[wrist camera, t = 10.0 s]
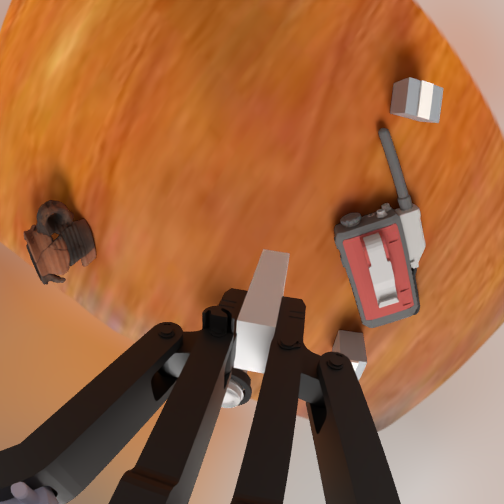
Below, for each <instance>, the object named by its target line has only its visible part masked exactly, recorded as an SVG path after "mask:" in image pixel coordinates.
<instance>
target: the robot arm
mask: <svg viewBox="0 0 504 504" xmlns="http://www.w3.org/2000/svg"><path fill="white" fill-rule="evenodd" d="M289 255H290V253H284V252H277V251H271V250H265V249H263V252H262V254H261V257H260V260H259V262H258V265H257V268H256V271H255V273H254V276H253V279H252V281H251V284H250V287H249V289H248V291H244V290H239V289H233V288H231V289H229V290H228V291H227V292H225V293H224V295H223V297H222V300H221V301H220V304H219V306H212V307H209V308H207V309H205V310H204V311H203V312H202V322H203V328H202V330H199V331H194V332H183V330H182V328H181V327H180V326H179V325H177V324H175V323H172V322H163V323H159V324H157V325H156V326H154V327H153V328H152V329H151V330H149V331H148V332H147V333H146V334H145V335H144V336H143V337H141V338H140V339H139V340H138V341H137V342H136V343H135V344H133V345H132V346H131V347H130V348H129V349H128V350H127V351H125V352H124V353H123V354H122V355H121V356H119V357H118V358H117V359H116V360H115V361H114V362H113V363H111V364H110V365H109V366H108V367H107V368H106V369H105V370H103V371H102V372H101V373H100V374H99V375H98V376H96V377H95V378H94V379H93V380H92V381H91V382H90V383H89V384H87V385H86V386H85V387H84V388H83V389H82V390H81V391H79V392H78V393H77V394H76V395H75V396H74V397H73V398H71V399H70V400H69V401H68V402H67V403H66V404H65V405H64V406H62V407H61V408H60V409H59V410H58V411H57V412H55V414H53V415H52V416H51V417H50V418H49V419H47V420H46V421H45V422H44V423H43V424H42V425H41V426H40V427H39V428H37V429H36V430H35V431H34V432H33V433H32V434H30V435H29V436H28V437H27V438H26V439H25V440H24V441H23V442H21V443H20V444H18V445H15V446H13V447H10V448H7V449H5V450H2V451H0V504H66V503H68V502H69V501H71V500H72V499H74V498H75V497H76V496H77V495H78V494H80V493H81V492H82V491H83V490H84V489H85V488H86V487H87V486H88V485H89V484H90V483H91V482H92V480H94V478H95V477H96V476H97V475H98V474H99V473H100V472H101V471H102V470H103V469H104V468H105V467H106V466H107V464H109V462H110V461H111V460H112V459H113V458H114V457H115V456H116V455H117V454H118V453H119V452H120V451H121V450H122V449H123V447H124V446H125V445H126V444H127V443H128V442H129V441H130V440H131V439H132V438H133V437H134V435H135V434H136V433H137V432H138V431H139V430H140V429H141V427H143V425H144V424H145V423H146V422H147V421H148V420H149V419H150V418H151V417H152V416H153V414H154V413H155V412H156V411H157V410H158V409H159V408H160V407H161V405H162V404H163V403H164V402H165V401H166V400H167V401H166V403H165V405H164V408H163V410H162V412H161V414H160V416H159V418H158V420H157V422H156V424H155V426H154V428H153V430H152V432H151V434H150V436H149V438H148V440H147V443H146V445H145V447H144V449H143V451H142V453H141V455H140V457H139V459H138V461H137V463H136V465H135V467H134V468H133V469H131V470H128V471H126V472H125V473H124V475H123V476H122V478H121V480H120V481H119V484H118V486H117V488H116V490H115V492H114V494H113V496H112V498H111V500H110V502H109V504H188V502H189V499H190V496H191V494H192V491H193V488H194V485H195V482H196V479H197V476H198V473H199V470H200V468H201V465H202V462H203V459H204V456H205V453H206V450H207V447H208V444H209V441H210V438H211V436H212V433H213V430H214V427H215V423H216V420H217V418H218V415H219V412H220V408H221V406H222V403H223V400H224V397H225V394H226V391H227V388H228V384H229V381H230V378H231V370H232V366H233V363H234V368H238V369H243V370H248V371H254V372H259V373H264V376H263V380H262V385H261V389H260V393H259V397H258V401H257V406H256V410H255V414H254V418H253V422H252V426H251V430H250V434H249V438H248V442H247V446H246V450H245V454H244V458H243V462H242V465H241V469H240V473H239V477H238V481H237V484H236V488H235V492H234V495H233V498H232V501H231V503H230V504H283V500H284V493H285V487H286V481H287V476H288V469H289V463H290V457H291V450H292V442H293V435H294V428H295V421H296V413H297V405H298V398H299V399H302V400H304V401H306V407H307V411H308V416H309V421H310V426H311V431H312V435H313V440H314V445H315V450H316V455H317V460H318V465H319V470H320V474H321V480H322V485H323V490H324V496H325V501H326V504H401V503H400V500H399V497H398V493H397V490H396V487H395V484H394V481H393V478H392V474H391V471H390V468H389V465H388V463H387V460H386V456H385V453H384V451H383V447H382V445H381V442H380V439H379V436H378V433H377V430H376V427H375V424H374V422H373V419H372V416H371V413H370V410H369V408H368V405H367V402H366V400H365V397H364V394H363V391H362V389H361V386H360V383H359V381H358V378H357V376H356V373H355V370H354V368H353V365H352V363H351V361H350V359H349V358H348V357H347V356H345V355H344V354H341V353H339V352H327V353H325V354H323V355H322V356H320V355H317V354H315V353H313V352H311V351H310V350H308V349H307V348H306V347H305V345H304V343H303V333H304V322H305V310H306V306H305V304H304V302H303V300H302V299H296V298H290V297H284V296H283V293H284V287H285V281H286V275H287V268H288V262H289Z"/></svg>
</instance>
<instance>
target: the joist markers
mask: <svg viewBox="0 0 504 504" xmlns="http://www.w3.org/2000/svg"><path fill="white" fill-rule="evenodd" d="M442 95H443V88H441V87H439V86H436V85H434V84H432V83H429V82H426V81H423V80H422V81H420V80H417V79H414V78H411V77H408V78H406V79H403V80H401V81H398V82H395V83H394V85H393V94H392V102H391V109H390V114H394V115H398V116H402V117H406V118H409V119H413V120H416V121H421V122H432V123H439V119H440V111H441V104H442ZM332 351H333V352H339V353H341V354H344V355H345V356H347V357H348V358H349V359H350V361H351V363H352V365H353V368H354V370H355V373H356V376H357V378H358V381H359V379H360V377H361V375H362V373H363V370H364V368H365V366H366V364H367V357H366V350H365V343H364V337H363V333H358V332H351V331H344V330H339V331H338V334H337V337H336V340H335V343H334V345H333V348H332Z"/></svg>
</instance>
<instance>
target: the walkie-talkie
mask: <svg viewBox="0 0 504 504" xmlns="http://www.w3.org/2000/svg"><path fill="white" fill-rule="evenodd" d="M378 134H379V137H380V140H381V143H382V146H383V149H384V152H385V155H386V158H387V161H388V164H389V167H390V170H391V174H392V177H393V180H394V184H395V187H396V191H397V194H398V203H399V206H400V208H398V209H395V210H394V209H392V208H391V206H390V204H389V203H385V204H383V205H382V209H379V210H377V212H374V213H371V214H368V215H365V216H362V217H361V214H360V213H357V212H356V213H349V214H347V215H345V216H343V217H342V218H341V220H340V222H341V224H338V225H336V226H335V228H334V233H335V237H334V241H335V243H336V246H337V249H339V250H340V253H341V255H340V257H341V261H342V264H343V267H345V269H346V272H347V275H348V278H349V281H350V283H351V287H352V291H353V294H354V296H355V300H356V304H357V307H358V311H359V314H360V317H361V320H362V324H364V325H365V326H367V327H369V328H374V327H378V326H381V325H385V324H388V323H391V322H394V321H398V320H401V319H404V318H407V317H410V316H412V315H416V314H417V313H418V312H419V309H420V303H419V296H418V290H417V284H416V278H415V274H416V271H417V267H419V265H418V262H419V260H420V258H421V255H422V253H423V251H424V249H425V239H424V234H423V229H422V225H421V220H420V216H421V214H420V209H419V208H418V207H417V206H416V205H415V204H412V201H411V197H410V195H408V191H407V187H406V184H405V180H404V177H403V173H402V170H401V167H400V163H399V160H398V157H397V154H396V151H395V148H394V145H393V142H392V139H391V136H390V133H389V131H388V129H386V128H381V129H380V130H379V131H378ZM411 268H412V270H411Z"/></svg>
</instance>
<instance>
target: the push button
mask: <svg viewBox="0 0 504 504" xmlns="http://www.w3.org/2000/svg"><path fill="white" fill-rule="evenodd" d="M250 384H251V379H250V378H249V376H248V375H247V370H243V369H238V368H234V363H233V366H232V370H231V378H230V381H229V384H228V388H227V391H226V394H225V397H224V400H223V403H222V406H221V407H224V408H232V407H235V406H238V405H242V404H245V403H246V402H248V401H249V399H250V397H251V394H252V389H251V386H250ZM243 389H245V390H243Z"/></svg>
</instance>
